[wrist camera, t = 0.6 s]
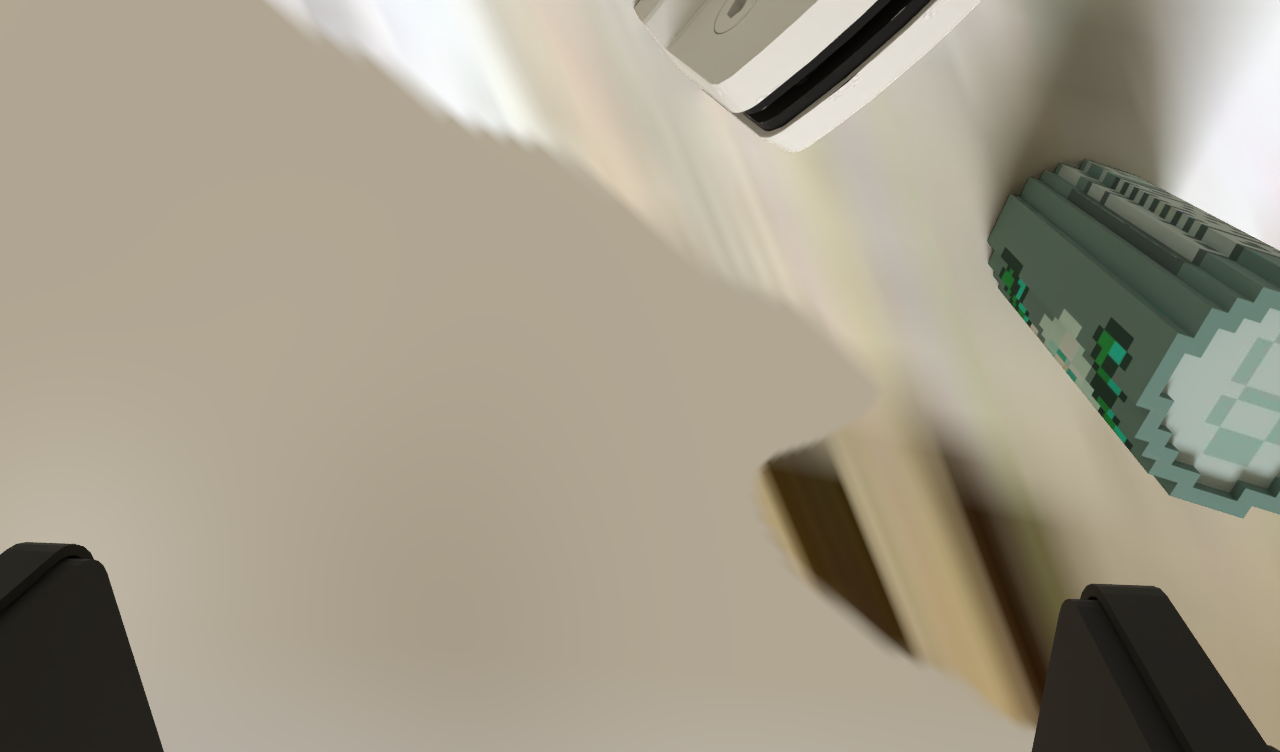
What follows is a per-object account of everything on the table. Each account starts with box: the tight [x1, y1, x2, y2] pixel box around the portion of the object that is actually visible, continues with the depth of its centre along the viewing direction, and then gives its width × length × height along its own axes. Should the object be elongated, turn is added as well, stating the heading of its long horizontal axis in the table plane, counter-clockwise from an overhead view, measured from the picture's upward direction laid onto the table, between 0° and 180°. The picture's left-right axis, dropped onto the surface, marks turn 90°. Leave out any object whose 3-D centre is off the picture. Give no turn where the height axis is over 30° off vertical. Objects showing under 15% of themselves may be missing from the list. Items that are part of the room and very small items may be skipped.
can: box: [987, 159, 1280, 518], centre depth 29 cm, size 6×6×15 cm
